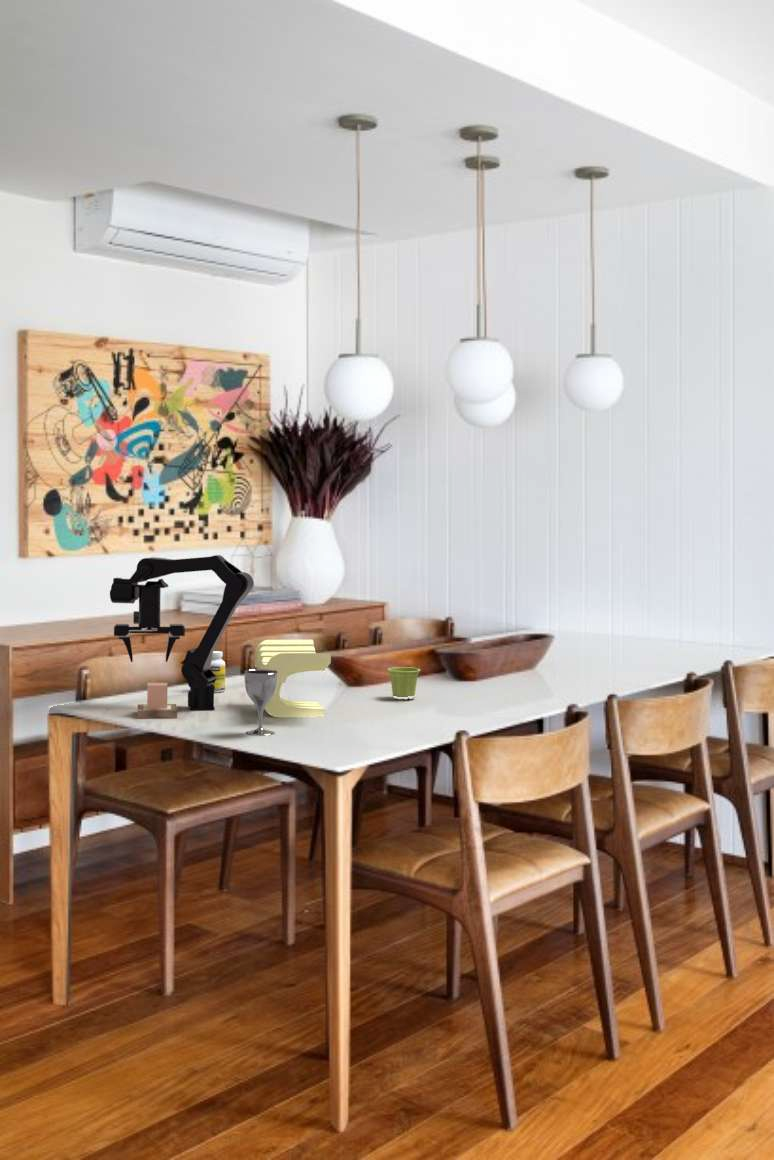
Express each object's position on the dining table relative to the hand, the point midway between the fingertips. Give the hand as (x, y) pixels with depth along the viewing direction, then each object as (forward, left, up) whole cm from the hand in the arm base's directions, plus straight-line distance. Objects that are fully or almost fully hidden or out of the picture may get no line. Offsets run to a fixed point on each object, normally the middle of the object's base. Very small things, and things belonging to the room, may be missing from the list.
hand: (149, 661), depth 349 cm
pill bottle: (-19, -25, -12) cm, 34 cm away
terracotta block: (-2, +14, -10) cm, 18 cm away
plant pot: (-72, -8, -12) cm, 73 cm away
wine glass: (-26, +42, -12) cm, 51 cm away
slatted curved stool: (-37, +13, -12) cm, 41 cm away
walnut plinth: (-2, +14, -12) cm, 19 cm away
